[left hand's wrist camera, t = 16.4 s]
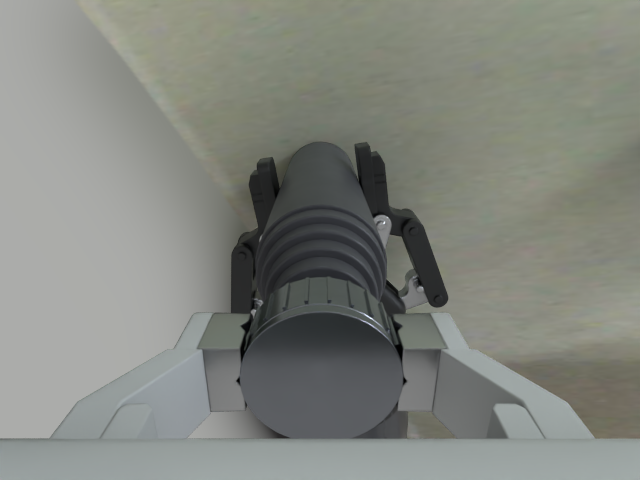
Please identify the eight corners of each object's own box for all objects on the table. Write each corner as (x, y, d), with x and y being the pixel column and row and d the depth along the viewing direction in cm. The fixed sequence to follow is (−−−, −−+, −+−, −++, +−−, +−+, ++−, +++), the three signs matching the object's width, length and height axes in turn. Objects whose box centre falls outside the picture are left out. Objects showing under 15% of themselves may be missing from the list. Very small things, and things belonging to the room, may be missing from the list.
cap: (390, 266, 10) (403, 300, 8) (397, 390, 11) (409, 438, 10) (236, 282, 10) (221, 318, 8) (261, 401, 11) (252, 451, 10)
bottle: (350, 138, 28) (422, 268, 8) (355, 203, 30) (425, 437, 10) (283, 145, 28) (197, 291, 8) (292, 210, 30) (239, 453, 10)
